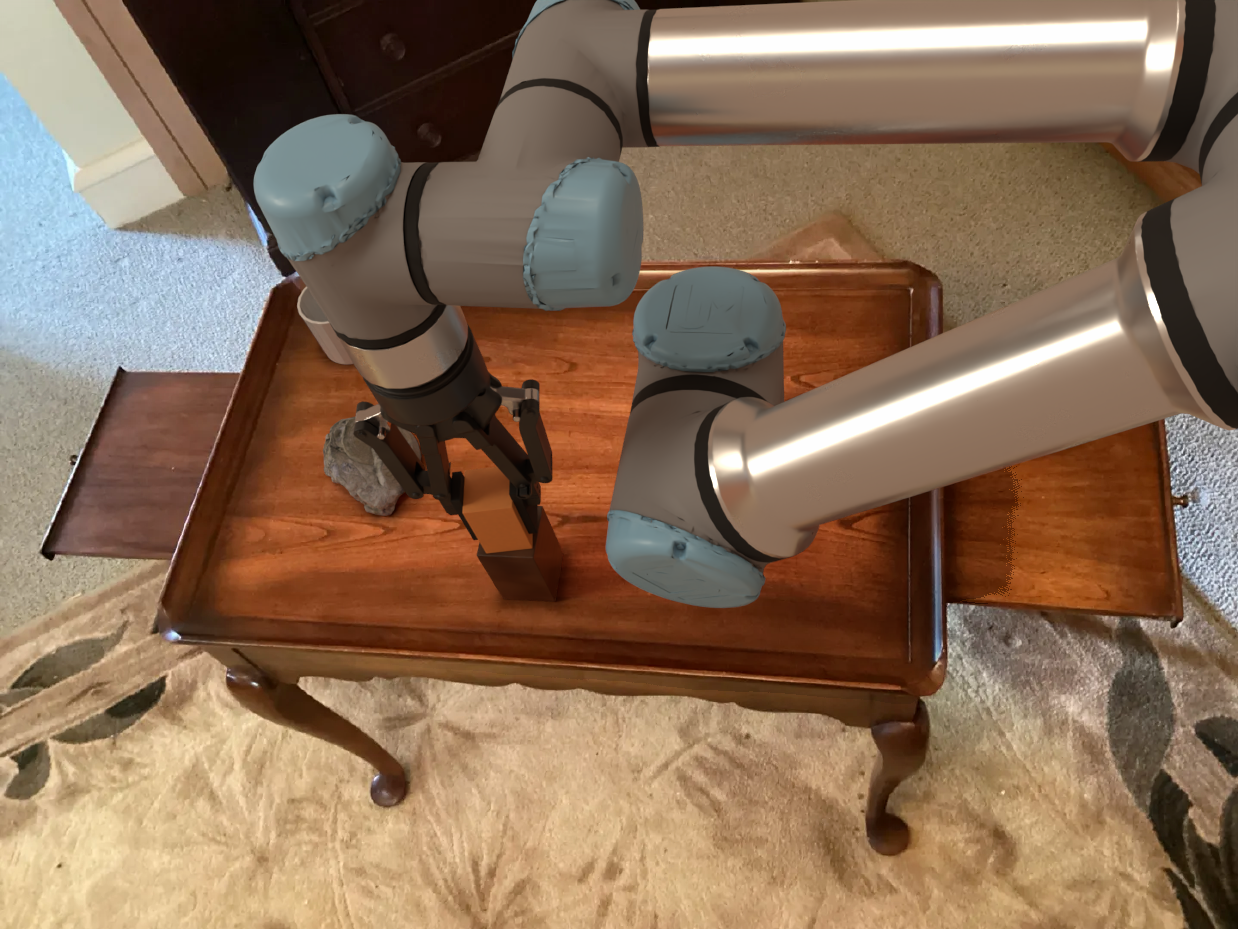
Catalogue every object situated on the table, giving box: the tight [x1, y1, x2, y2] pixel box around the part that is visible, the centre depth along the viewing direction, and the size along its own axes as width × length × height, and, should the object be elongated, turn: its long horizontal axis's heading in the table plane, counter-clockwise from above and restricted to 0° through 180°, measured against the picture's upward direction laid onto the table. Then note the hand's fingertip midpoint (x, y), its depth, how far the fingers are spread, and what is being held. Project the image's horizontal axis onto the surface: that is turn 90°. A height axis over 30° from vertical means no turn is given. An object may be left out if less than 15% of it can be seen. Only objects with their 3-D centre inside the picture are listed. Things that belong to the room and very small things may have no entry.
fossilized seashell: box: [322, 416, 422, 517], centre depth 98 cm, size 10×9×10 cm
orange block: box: [463, 466, 533, 553], centre depth 79 cm, size 4×4×7 cm
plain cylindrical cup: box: [296, 285, 354, 365], centre depth 106 cm, size 7×7×7 cm
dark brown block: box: [476, 505, 564, 603], centre depth 86 cm, size 5×5×9 cm
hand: (505, 522), depth 81 cm, fingers closed on orange block, 4 cm apart
